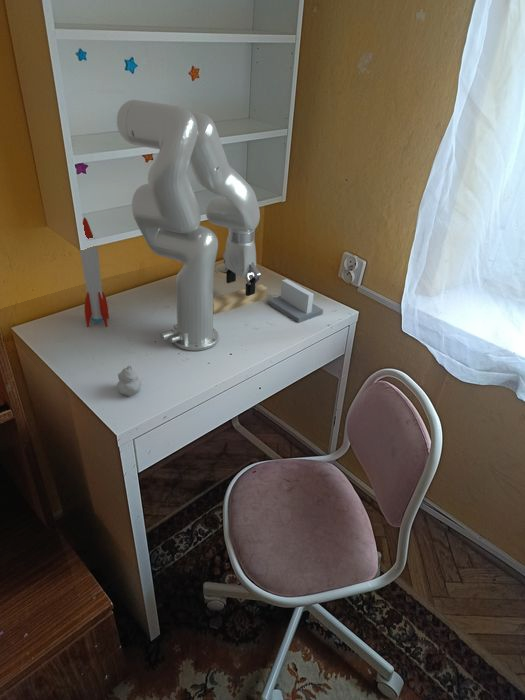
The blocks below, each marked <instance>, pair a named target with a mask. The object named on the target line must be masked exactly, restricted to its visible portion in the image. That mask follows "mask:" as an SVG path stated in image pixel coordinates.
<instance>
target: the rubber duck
mask: <svg viewBox="0 0 525 700" xmlns="http://www.w3.org/2000/svg"><path fill="white" fill-rule="evenodd" d="M117 377H118V380H119V381H118V382H117V383H116V389H117V391H119V393H121V394H122V395H125V396H127V397H128V396H133V395H136V394H138V393H139V392H140V390H141V386H142V381H141V378H140V377H139V376H137V373H136V370H135V369H134V368H133V367H132V365H130V364H128V365H127V367H124V368H123V369H122V370H121V372H119V373H118V374H117Z"/></svg>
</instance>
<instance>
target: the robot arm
mask: <svg viewBox="0 0 525 700" xmlns="http://www.w3.org/2000/svg"><path fill="white" fill-rule="evenodd" d="M116 127H117V130H118V132H119V134H120V136H121V138H122V139H123V140H124V141H126V142H127V143H128V144H131V145H134V146H139V147H143V148H145V147H146V148H150V149H154V150H155V149H156V150H158V153H157V156H156V158H155V160H154V161H153V163H152V164H151V166H150V167H149V170H148V174H147V183H144V184H142V185H140V186H139V187H138V188H136V190H135V191H134V194H133V196H132V200H131V212H132V216H133V219H134V221H135V223H136V225H137V227H138V228H139V232H140V233H141V234H142V236H143V239H144V240H145V242H146V244H147V246H148V247H149V249H150V250H151V251H152V252H153V253H154V254H156V255H158V256H160V257H163V258H167V259H171V260H174V261H176V262H179V263H182V265H183V266H182V268H181V269H180V270H179V272H177V275H176V277H175V297H176V298H175V301H176V302H175V303H176V324H175V323H174V324H173V329H171V330H170V331H166V332H162V333H160V338H161V340H162V341H163V342H165V341H167V340H170V343H172V344H174V345H175V346H176V347H178V348H180V349H183V350H185V351H186V350H187V351H193V352H194V351H204V350H208V349H210V348H212V347H214V346H216V344H217V343H218V341H219V336H220V335H219V331H217V329H215V328H214V314H213V298H214V278H215V277H214V273H215V264H216V259H217V254H218V250H219V239H218V236H217V235H216V234H215V232H214V231H212V230H211V229H209V228H208V227H205V226H202V225H200V224H201V219H202V217H201V216H202V215H201V210H200V207H199V203H198V200H197V198H196V194H195V192H194V190H193V187H192V184H191V181H190V177H189V175H188V172H189V171H188V169H189V165H190V167H191V171H192V173H193V175H194V177H195V180H196V181H197V182H198V184H199V185H201V187H203V188H204V189H206V190H208V191H209V192H211V193H213V194H214V195H216V196H215V197H213V198H212V199H211V200H209V202H208V203H207V205H206V208H205V216H206V219H207V220H208V221H209V222H210V223H211V224H212V225H215V226H220V227H222V228H223V227H224V228H227V229H228V235H227V238H226V243H225V249H224V253H222V258H223V264H224V266H225V271H226V275H225V276H226V279H225V281H226V284H232V283H235V282H236V281H237V280H236V279H237V276H238V277H240V278H245V281H246V283H245V289H246V296H250V295H252V294H255V286H256V283H257V282H258V281H259V280H260V277H261V275H262V274H261V272H260V270H259V269H258V268H257V251H256V242H255V237H256V235H255V234H256V228H257V227H258V225H259V222H260V219H261V213H260V206H259V202H258V199H257V196H256V193H255V191H254V189H253V188H252V187H251V185H250V184H249V183H248V182H247V181H246V179H244V178H243V177H242V175H240V174H239V173H238V172H237V171H236V170H235V169H234V168H233V167H232V166H231V165H229V161H228V158H227V156H226V152H225V150H224V147H223V145H222V144H223V143H222V142H221V138H220V134H219V132H218V130H217V127H216V124H215V122H214V121H213V119H212V118H211V117H210V116H208V115H207V114H205V113H201V112H197V111H190V110H188V109H186V108H184V107H180V106H177V105H173V104H168V103H160V102H152V101H147V100H137V99H131V100H128V101H126V102H124V103H123V104H122V105H121V106H120V108H119V110H118V111H117V115H116ZM249 276H250V277H249ZM250 278H251V279H250Z"/></svg>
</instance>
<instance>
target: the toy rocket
mask: <svg viewBox="0 0 525 700" xmlns="http://www.w3.org/2000/svg"><path fill="white" fill-rule="evenodd" d="M82 224H83V225H84V231H85V235H86V237H87V238H88V239H89V238H93V236H94V234H93V232H92V230H91V227H90V224H89V222H88V220H87V218H86V217H83V219H82ZM79 254H80V259H81V267H82V271H83V277H84V283H85V290H86V295H85V301H84V318H85V323H86V328H89V327H90V322H91V321H92V322H94V323H99V322H103V324H104V326H105V327H106V328H108V319H110V315H109V306H108V301H107V299H106V294H105V292H103V289H102V278H101V269H100V259H99V258H100V256H99V249H98V245H97V246H93V247H90V248H87V249H85V250H80V249H79Z"/></svg>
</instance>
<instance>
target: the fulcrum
mask: <svg viewBox="0 0 525 700" xmlns="http://www.w3.org/2000/svg"><path fill="white" fill-rule="evenodd" d="M267 304H268V305H269V306H270V307H273V308H274V309H276V310H277V311H278V312H281V313H282V314H283V315H285V316H287V317H288V318H290V319H292V320H293V321H295V322H296V323H298V324H299V323H301V322H302V323H303V322H304V321H307V320H311V319H312V318H317V317H319V316H321V315H323V313H324V309H322V308H321V307H319V306H317V305H316V304H314V293H313V292H311V291H309V290H307V289H305V288H304V287H303V286H300V285H299V284H297V283H295V282H293V281H291V280H289V278H288V279H287V278H285V279H282V280H281V289H280V295H279V296H276V297H273V298H269V299H268V303H267Z"/></svg>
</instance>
